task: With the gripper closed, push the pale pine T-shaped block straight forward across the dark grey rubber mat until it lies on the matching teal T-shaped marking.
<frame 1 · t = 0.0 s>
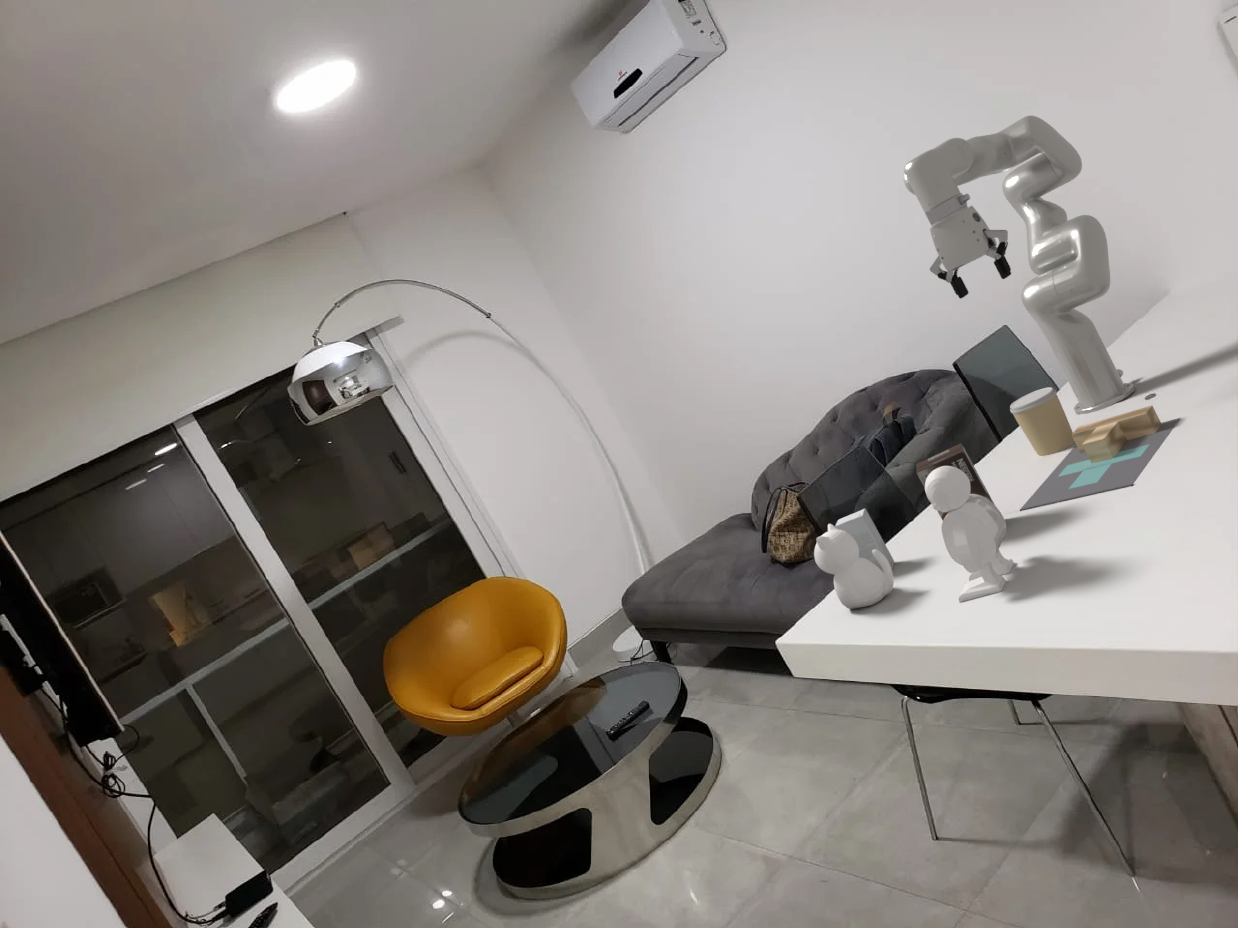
hand: (985, 286, 179), 37 cm above the table, tool pointing down, fingers open, 9 cm apart
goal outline: (1103, 462, 162), resting on rubber mat
skincare box: (879, 572, 170), on the table
cat figurine: (873, 600, 157), on the table
white humanoid figurine: (994, 581, 139), on the table
pine T block: (1120, 438, 168), resting on rubber mat, touching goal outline
coffee box: (980, 535, 160), on the table
rubber mat: (1101, 464, 161), on the table
coffee cup: (1057, 449, 184), on the table
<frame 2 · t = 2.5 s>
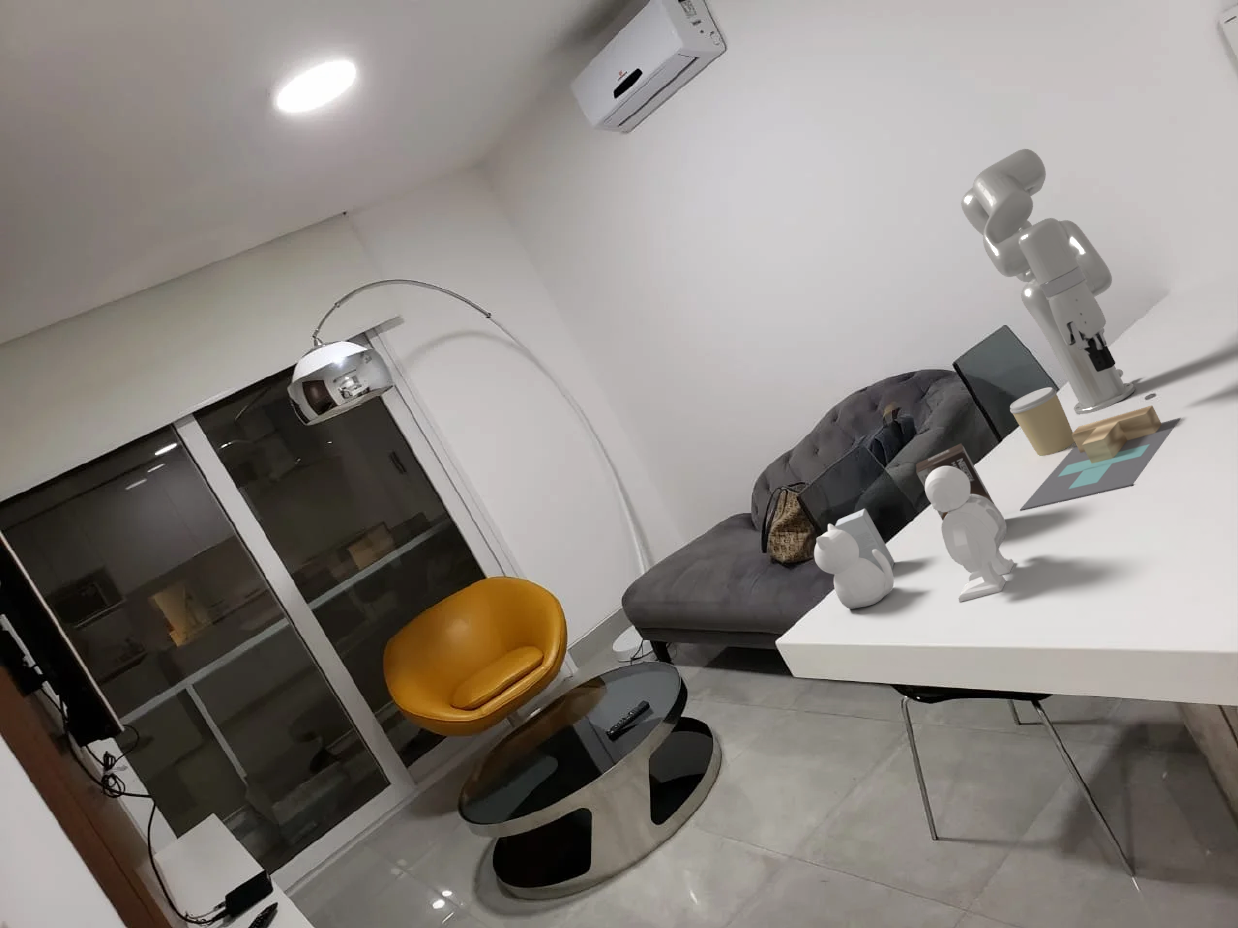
hand: (1106, 368, 171), 12 cm above the table, tool pointing down, fingers closed
nothing on the table moved.
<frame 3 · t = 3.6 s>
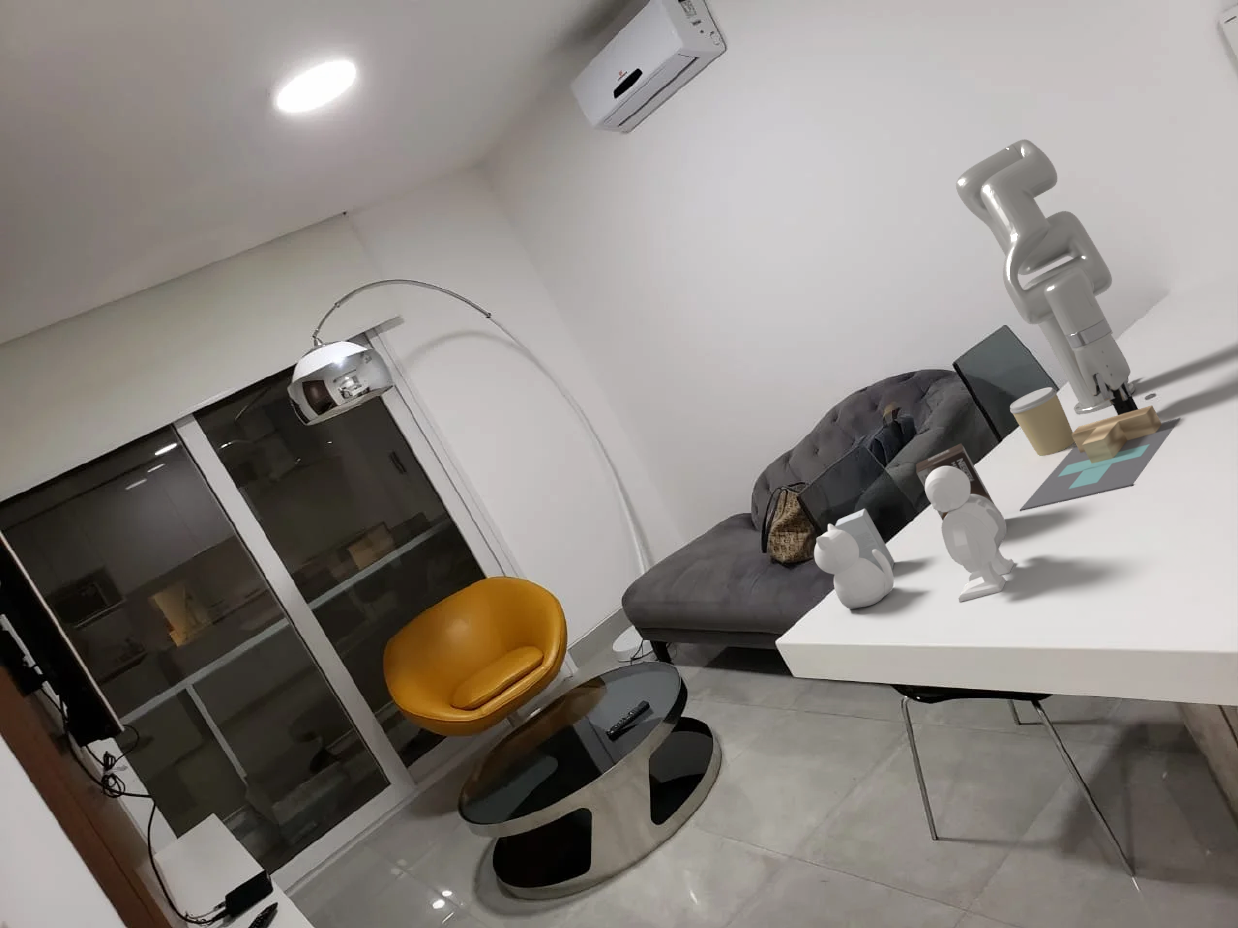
hand: (1130, 417, 173), 1 cm above the table, tool pointing down, fingers closed
nothing on the table moved.
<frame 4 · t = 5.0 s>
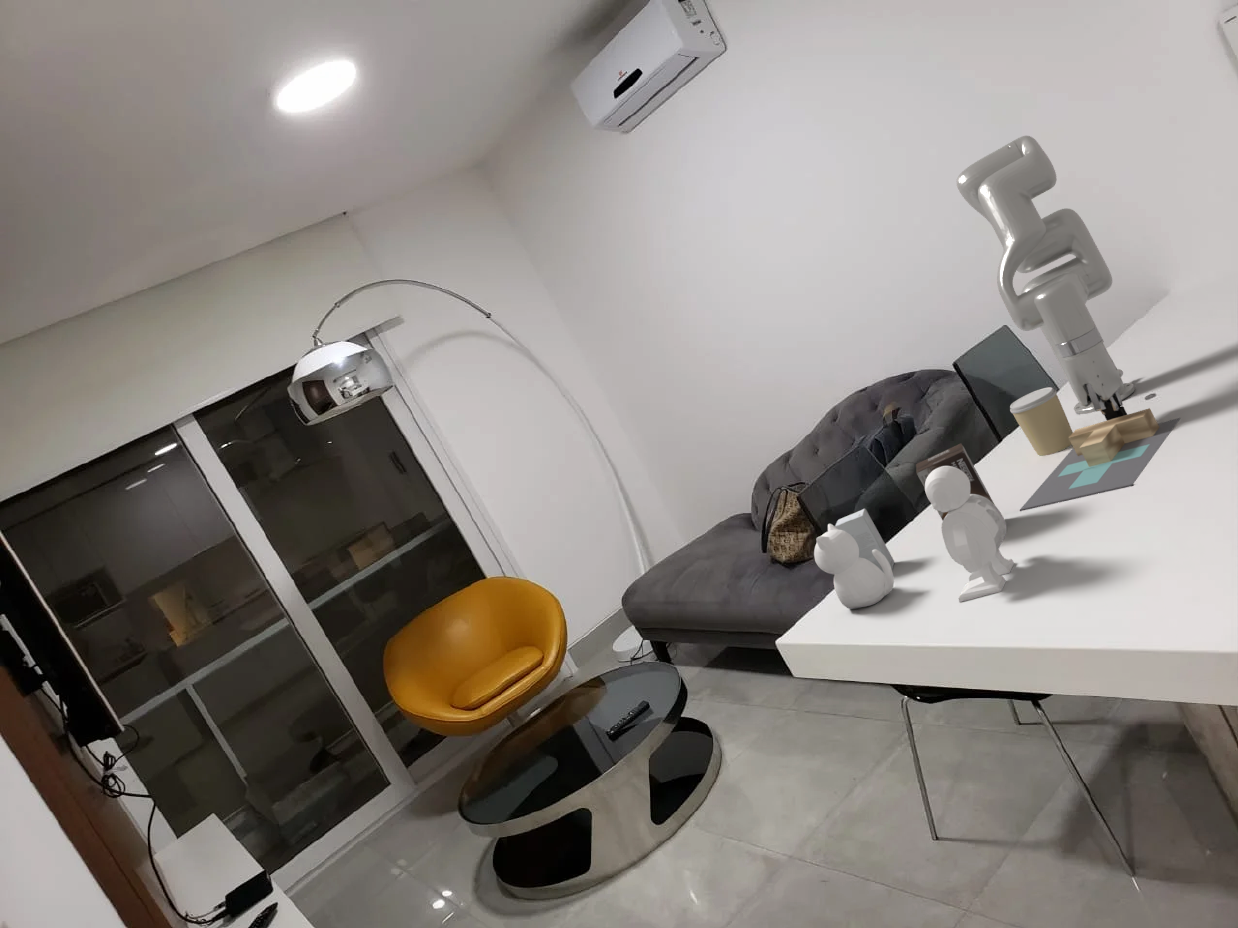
hand: (1122, 428, 170), 1 cm above the table, tool pointing down, fingers closed
pine T block: (1117, 441, 167), resting on rubber mat, touching gripper
everything else where it was.
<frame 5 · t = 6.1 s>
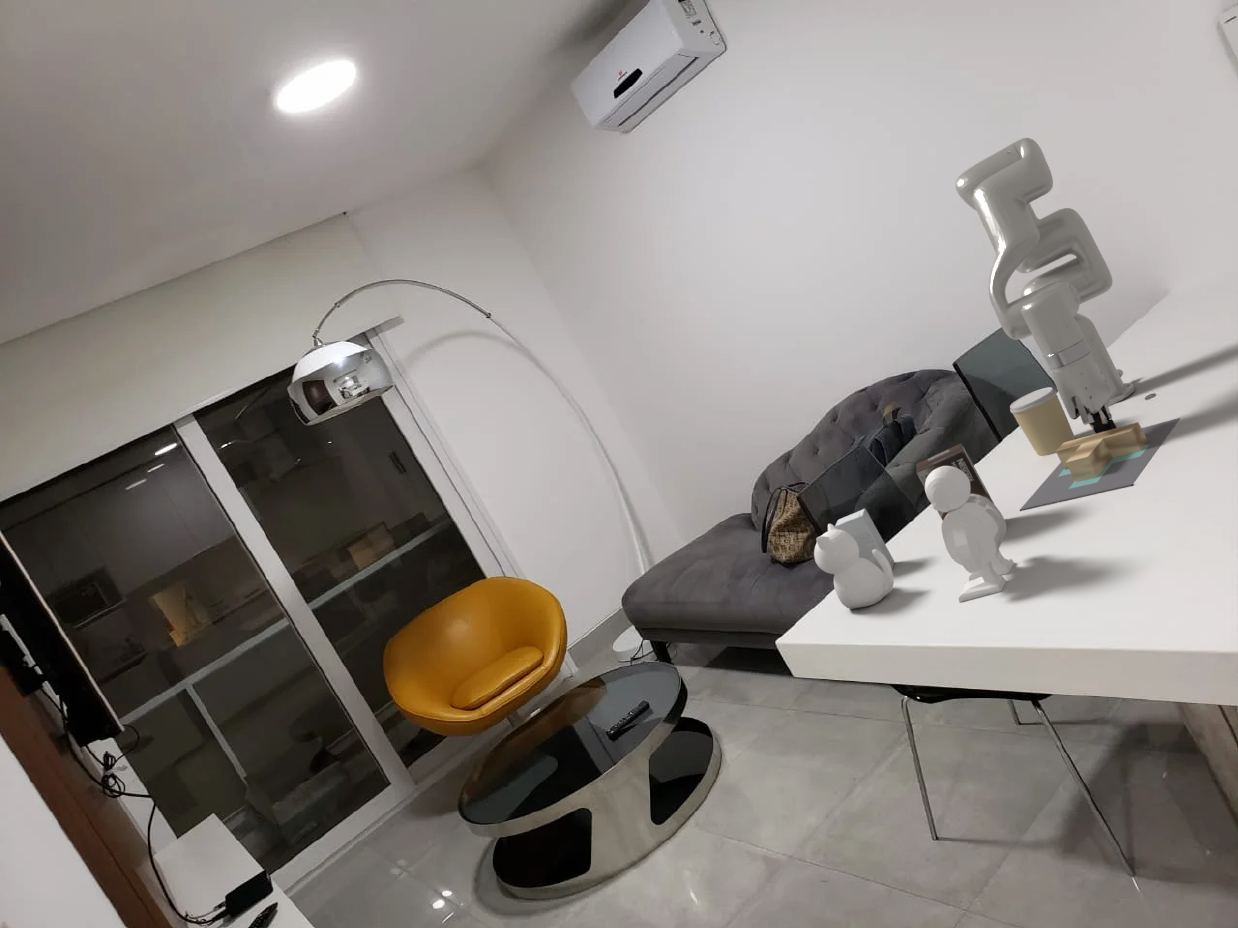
hand: (1111, 441, 166), 1 cm above the table, tool pointing down, fingers closed
pine T block: (1105, 456, 163), resting on rubber mat, touching gripper
everything else where it was.
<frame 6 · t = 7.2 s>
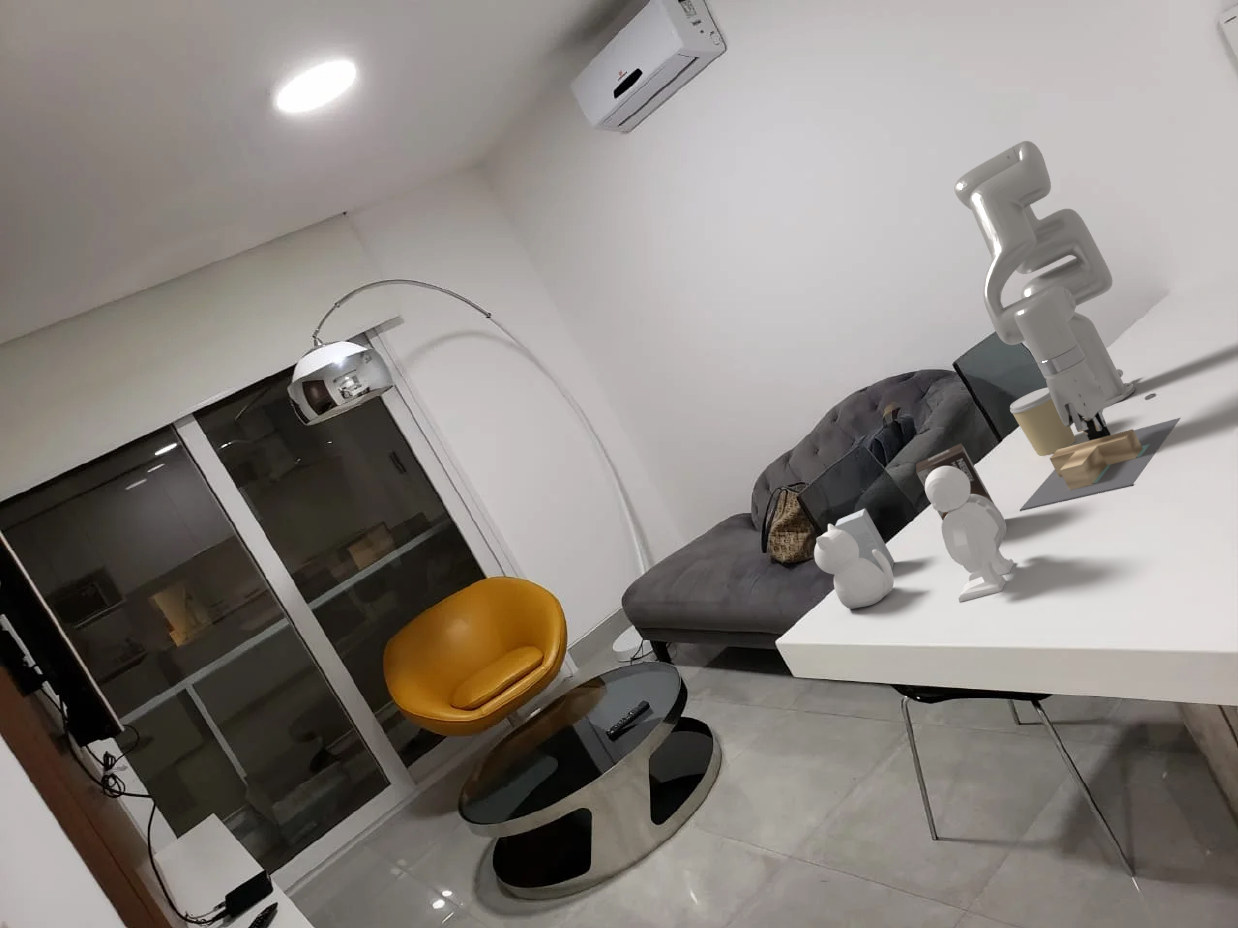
hand: (1105, 448, 164), 1 cm above the table, tool pointing down, fingers closed
pine T block: (1099, 463, 161), resting on rubber mat, touching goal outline, gripper
everything else where it was.
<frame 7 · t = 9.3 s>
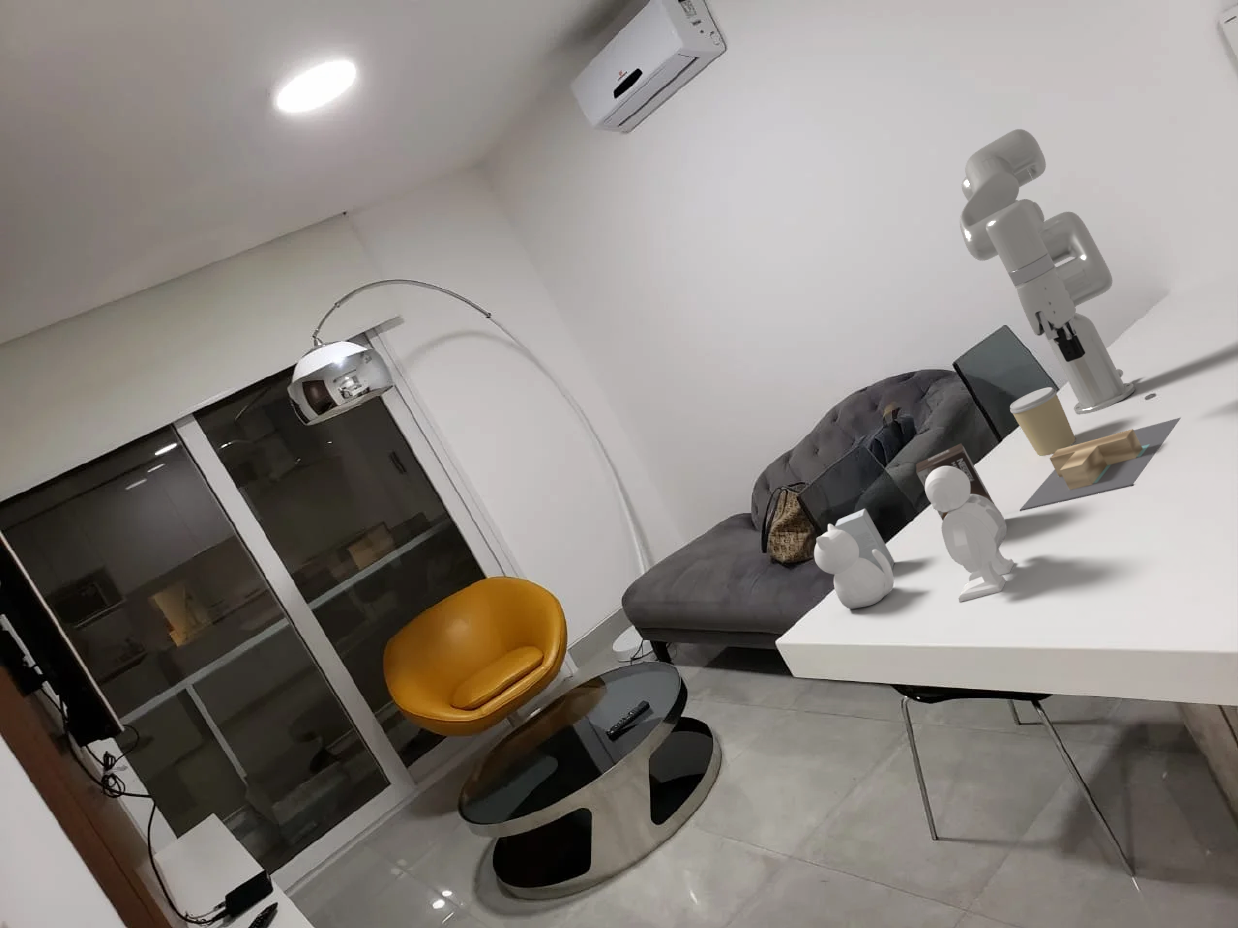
hand: (1076, 357, 166), 18 cm above the table, tool pointing down, fingers closed
pine T block: (1099, 463, 161), resting on rubber mat, touching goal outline
everything else where it was.
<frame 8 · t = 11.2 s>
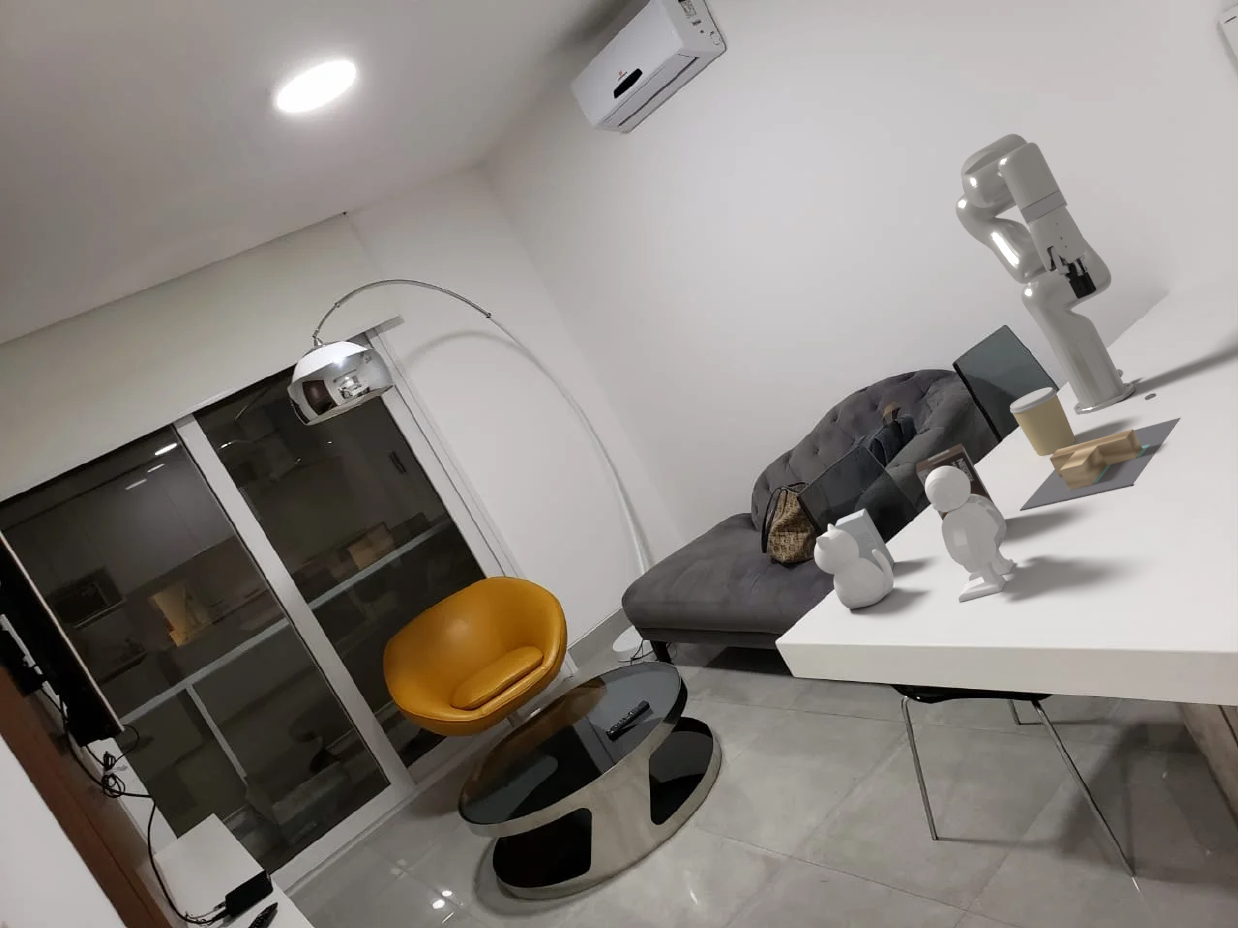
hand: (1087, 294, 169), 27 cm above the table, tool pointing down, fingers closed
nothing on the table moved.
at the end: pine T block 1.0 cm from the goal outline (horizontally); pine T block tilted 0° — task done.
